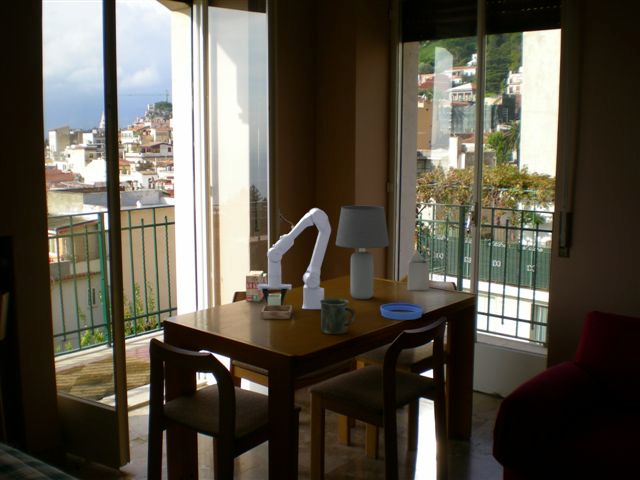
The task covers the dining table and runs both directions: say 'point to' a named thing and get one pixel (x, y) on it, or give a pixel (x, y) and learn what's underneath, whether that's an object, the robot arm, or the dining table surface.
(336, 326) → the mug
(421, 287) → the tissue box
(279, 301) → the box
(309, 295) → the robot arm
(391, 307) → the bowl
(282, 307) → the big crate
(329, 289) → the dining table surface
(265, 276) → the stack of blocks
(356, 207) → the lamp
